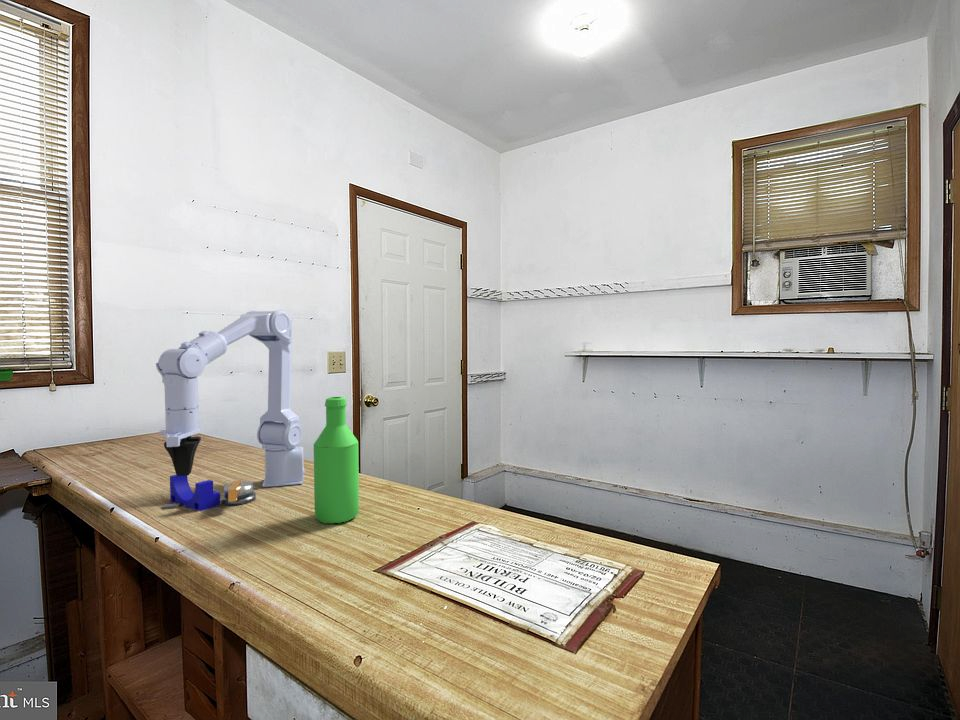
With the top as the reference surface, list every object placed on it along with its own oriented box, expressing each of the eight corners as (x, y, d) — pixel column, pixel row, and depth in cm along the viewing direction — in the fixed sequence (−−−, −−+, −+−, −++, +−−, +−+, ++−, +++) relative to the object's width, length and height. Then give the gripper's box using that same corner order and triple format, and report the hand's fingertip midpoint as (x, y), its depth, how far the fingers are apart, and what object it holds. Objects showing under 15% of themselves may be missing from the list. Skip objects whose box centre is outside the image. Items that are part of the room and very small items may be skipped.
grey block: (180, 504, 108) (180, 502, 108) (177, 507, 106) (177, 505, 106) (164, 505, 107) (164, 504, 107) (161, 509, 105) (161, 507, 105)
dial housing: (257, 494, 115) (257, 489, 115) (253, 503, 108) (253, 499, 108) (224, 497, 113) (224, 492, 113) (218, 507, 106) (218, 502, 106)
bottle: (346, 527, 95) (345, 401, 94) (306, 523, 97) (304, 399, 95) (365, 511, 103) (364, 395, 102) (328, 508, 105) (327, 394, 104)
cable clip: (220, 505, 107) (219, 479, 107) (200, 511, 104) (199, 484, 103) (190, 496, 114) (190, 471, 113) (170, 502, 110) (169, 476, 109)
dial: (226, 491, 112) (226, 476, 112) (254, 489, 114) (254, 474, 114) (216, 508, 101) (216, 491, 101) (248, 505, 103) (247, 488, 103)
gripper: (169, 404, 103) (171, 467, 103) (146, 414, 89) (148, 487, 90) (207, 402, 105) (208, 464, 106) (190, 412, 91) (192, 483, 92)
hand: (183, 474), depth 98 cm, fingers closed
